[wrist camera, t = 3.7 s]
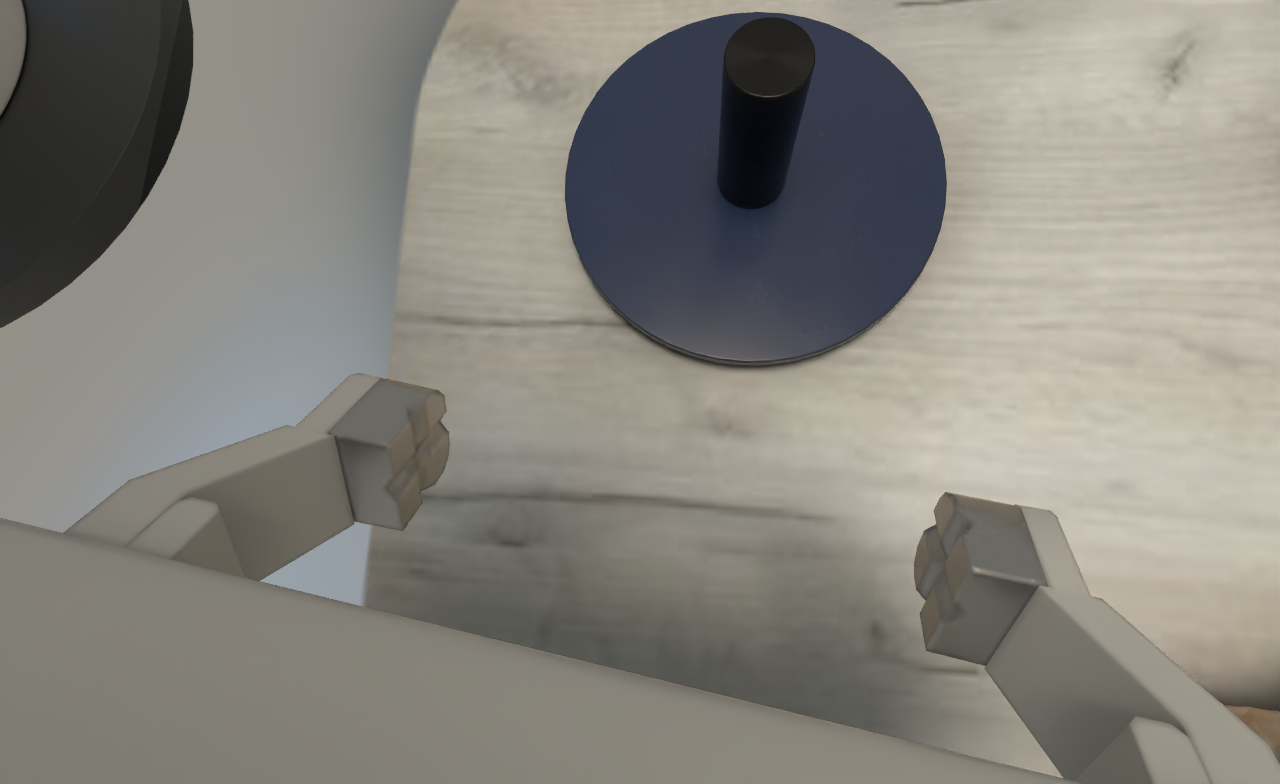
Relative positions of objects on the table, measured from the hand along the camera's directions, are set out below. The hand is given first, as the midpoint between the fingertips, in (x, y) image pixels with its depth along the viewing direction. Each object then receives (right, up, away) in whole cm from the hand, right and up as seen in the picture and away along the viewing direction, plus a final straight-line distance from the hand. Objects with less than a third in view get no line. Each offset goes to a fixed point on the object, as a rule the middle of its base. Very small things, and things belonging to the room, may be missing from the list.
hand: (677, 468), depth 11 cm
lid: (+4, +9, +16) cm, 19 cm away
